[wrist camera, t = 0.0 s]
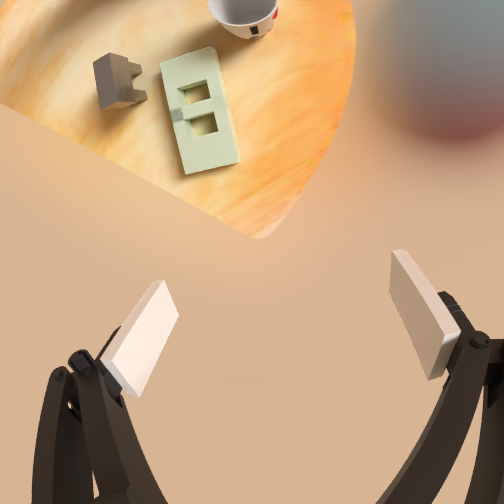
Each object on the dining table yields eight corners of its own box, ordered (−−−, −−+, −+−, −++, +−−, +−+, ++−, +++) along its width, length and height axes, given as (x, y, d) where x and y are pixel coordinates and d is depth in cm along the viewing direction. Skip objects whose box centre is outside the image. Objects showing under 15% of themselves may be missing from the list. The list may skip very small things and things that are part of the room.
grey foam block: (125, 68, 33) (92, 62, 25) (140, 61, 32) (109, 52, 24) (133, 109, 36) (101, 110, 28) (148, 103, 36) (117, 101, 28)
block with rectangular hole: (167, 66, 33) (159, 63, 30) (216, 50, 31) (211, 45, 28) (192, 170, 40) (185, 174, 38) (241, 159, 39) (238, 162, 36)
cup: (254, 57, 31) (245, 37, 22) (214, 30, 29) (193, 7, 21) (291, 23, 28) (293, -4, 19) (249, -3, 26) (239, -33, 17)
